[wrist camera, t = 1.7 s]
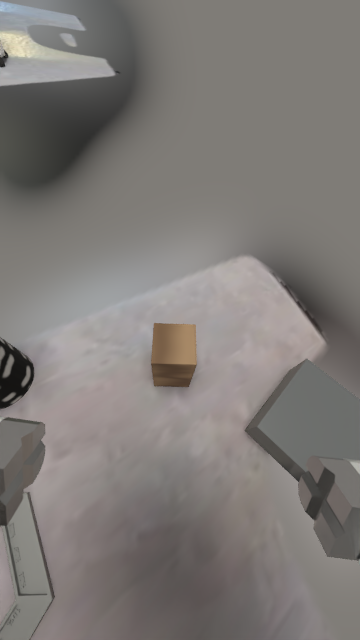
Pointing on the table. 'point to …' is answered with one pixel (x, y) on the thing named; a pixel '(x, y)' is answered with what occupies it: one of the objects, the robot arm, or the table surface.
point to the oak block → (173, 354)
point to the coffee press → (2, 55)
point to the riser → (308, 420)
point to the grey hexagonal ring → (25, 574)
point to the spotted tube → (13, 374)
